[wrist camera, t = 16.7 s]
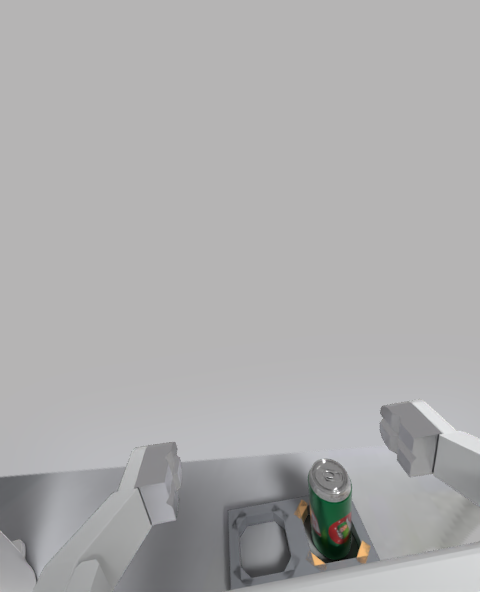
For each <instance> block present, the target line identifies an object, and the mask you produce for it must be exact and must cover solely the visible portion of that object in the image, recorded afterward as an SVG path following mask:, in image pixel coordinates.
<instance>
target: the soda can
mask: <svg viewBox="0 0 480 592" xmlns="http://www.w3.org/2000/svg"><path fill="white" fill-rule="evenodd" d="M308 487H309V504H310V520H311V535H312V539H313V542H314V544H315V546H316V548H317V549H318V550H319V552H320V553H321V554H323V555H324V556H325V557H327V558H329V559H333V560H339V559H342V558H344V557H345V556H346V555H347V554H348V553H349V551H350V548H351V517H352V484H351V480H350V478H349V476H348V474H347V472H346V470H345V469H344V468H343V466H342V465H340V464H339V463H338V462H336V461H334V460H331V459H320V460H318V461H316V462H315V463H314V464H313V466H312V468H311V469H310V471H309V474H308Z"/></svg>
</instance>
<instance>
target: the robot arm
mask: <svg viewBox="0 0 480 592" xmlns="http://www.w3.org/2000/svg"><path fill="white" fill-rule="evenodd" d="M380 414H381V415H382V417H383V419H382V421H381V422H380V433H381V436H382V439H383V440H384V443H385V444H386V446H387V447H388V448H389V450H391V451H393V452H395V453H396V454H397V461H398V462H399V464H400V465H401V466H402V468H403V469H404V470H405V472H406V473H407V474H408V476H409V477H416V476H423V475H429V474H433V475H434V476H435V477H436V478H438V479H439V480H441V481H442V482H444V483H445V484H447V485H448V486H449V487H451V488H452V489H454V490H455V491H457V492H458V493H460V494H461V495H462V496H464V497H465V498H467V499H468V500H470V501H471V502H473V503H474V504H476V505H477V506H478V507H480V439H479V438H477V437H475V436H472V435H470V434H468V433H465V432H463V431H457V430H455V429H454V428H453V427H452V426H451V425H450V424H449V423H448V422H447V421H446V420H444V419H443V418H442V417H441V416H440V415H439V414H438V413H437V412H435V411H434V410H433V409H432V408H431V407H430V406H429V405H428V404H427V403H426V402H425V401H423V400H421V399H418V400H412V401H407V402H401V403H395V404H390V405H384V406H382V407H381V411H380ZM181 482H182V466H181V460H180V457H178V456H177V446H176V443H175V442H169V443H162V444H155V445H148V446H143V447H136V448H134V449H133V451H132V453H131V455H130V458H129V461H128V463H127V466H126V469H125V472H124V474H123V477H122V480H121V483H120V486H119V488H118V491H117V492H113V493H112V494H111V495H110V496H109V497H108V499H107V500H106V501H105V502H104V503H103V504H102V505H101V506H100V507H99V508H98V509H97V510H96V511H95V513H94V514H93V515H92V516H91V517H90V518H89V519H88V520H87V521H86V522H85V523H84V524H83V526H82V527H81V528H80V529H79V530H78V531H77V532H76V533H75V534H74V535H73V536H72V537H71V539H70V540H69V541H68V542H67V543H66V544H65V545H64V546H63V547H62V548H61V549H60V550H59V552H58V553H57V554H56V555H55V556H54V557H53V558H52V559H51V560H50V561H49V562H48V563H47V565H46V566H45V567H44V568H43V570H42V572H41V574H40V576H39V578H38V581H37V583H36V578H35V573H34V571H33V569H32V567H31V566H30V565H29V564H28V563H27V561H26V559H25V555H26V547H25V544H24V543H23V542H22V541H21V540H20V539H18V540H14V541H12V542H11V541H10V540H9V539H8V538H7V537H6V536H5V535H4V534H3V533H2V531H1V530H0V592H113V590H114V589H115V587H116V585H117V584H118V582H119V580H120V579H121V577H122V575H123V574H124V572H125V571H126V569H127V567H128V566H129V564H130V562H131V561H132V559H133V557H134V556H135V554H136V552H137V551H138V549H139V547H140V546H141V544H142V543H143V541H144V539H145V538H146V536H147V534H148V533H149V531H150V529H151V528H152V526H151V525H156V524H161V523H165V522H170V521H175V520H176V519H177V512H178V505H179V497H178V493H177V491H178V490H179V488H180V487H181ZM223 592H480V541H479V542H474V543H470V544H464V545H459V546H454V547H449V548H443V549H438V550H433V551H428V552H423V553H418V554H413V555H407V556H402V557H397V558H392V559H387V560H382V561H377V562H371V563H366V564H361V565H356V566H351V567H346V568H341V569H336V570H330V571H325V572H320V573H315V574H310V575H305V576H300V577H295V578H290V579H285V580H279V581H274V582H269V583H264V584H259V585H254V586H249V587H244V588H239V589H233V590H228V591H223Z"/></svg>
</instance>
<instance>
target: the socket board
mask: <svg viewBox="0 0 480 592" xmlns="http://www.w3.org/2000/svg"><path fill="white" fill-rule="evenodd" d="M309 514H310V504H309V496H304V497H298V498H293V499H287V500H282V501H276V502H271V503H265V504H260V505H255V506H249V507H244V508H238V509H233V510H228V525H229V552H230V579H231V590H233V589H239V588H244V587H249V586H254V585H259V584H264V583H269V582H274V581H279V580H285V579H290V578H295V577H300V576H305V575H310V574H315V573H320V572H325V571H330V570H336V569H341V568H346V567H351V566H356V565H361V564H366V563H371V562H377V561H380V559H379V557H378V555H377V553H376V550H375V548H374V546H373V544H372V542H371V540H370V538H369V535H368V533H367V531H366V529H365V527H364V525H363V523H362V521H361V518H360V516H359V514H358V512H357V510H356V508H355V506H354V504H353V501H352V517H351V530H352V532H353V535H354V537H355V539H356V542H357V544H358V546H359V552H358V556H357V557H356V558H351V559H346V560H341V561H336V562H331V563H326V564H325V563H324V562H322V561H321V560H320V559H319V558H317V557H316V556H315V555H314V554H312V553H311V550H310V547H309V543H308V539H307V536H306V532H305V528H304V525H303V523H304V521H305V519H306V517H307V515H309ZM271 521H275V522H276V523H277V524H279V525H280V526H281V527H282V528H284V529H285V533H286V538H287V542H288V547H289V552H290V556H291V558H290V560H289V563H288V565H287V567H286V569H285V571H284V572H279V573H274V574H269V575H264V576H259V577H254V578H251V577H250V576H249V575H248V574H247V573H246V572H245V571H244V570H243V569H242V567H241V553H240V536H241V535H242V533H243V532H244V530H245V529H246V527H247V526H250V525H255V524H260V523H266V522H271Z"/></svg>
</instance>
